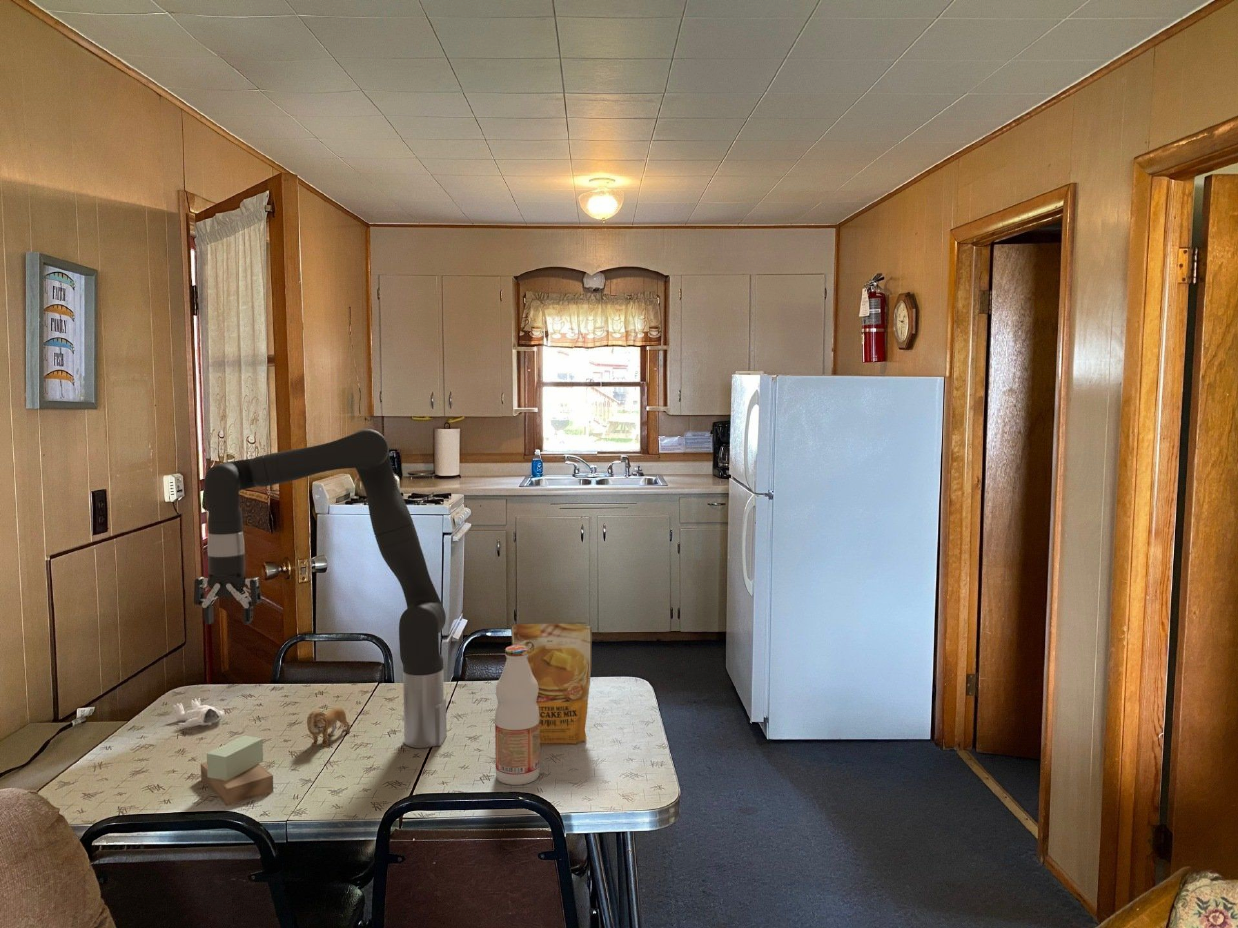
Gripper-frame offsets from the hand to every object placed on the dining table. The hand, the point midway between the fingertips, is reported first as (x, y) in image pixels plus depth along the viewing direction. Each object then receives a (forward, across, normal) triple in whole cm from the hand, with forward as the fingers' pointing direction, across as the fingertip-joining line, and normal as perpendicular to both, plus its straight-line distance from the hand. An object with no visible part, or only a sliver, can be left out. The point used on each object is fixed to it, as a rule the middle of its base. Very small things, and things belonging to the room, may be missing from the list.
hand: (228, 623), depth 194 cm
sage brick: (+26, -9, +16) cm, 32 cm away
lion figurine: (+30, -20, -8) cm, 37 cm away
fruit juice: (+30, -67, +10) cm, 74 cm away
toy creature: (+31, +17, -18) cm, 39 cm away
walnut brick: (+30, -9, +16) cm, 36 cm away
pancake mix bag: (+30, -72, -10) cm, 79 cm away
